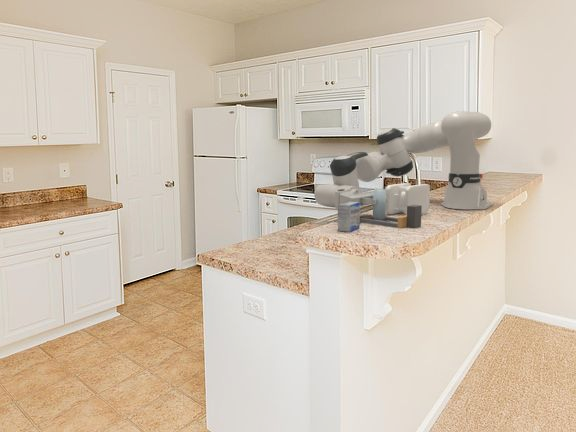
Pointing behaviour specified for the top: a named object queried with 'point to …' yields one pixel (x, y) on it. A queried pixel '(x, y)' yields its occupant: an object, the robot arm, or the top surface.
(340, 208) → the medicine box
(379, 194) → the marker sleeve
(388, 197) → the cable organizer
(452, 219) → the top surface
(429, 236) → the top surface
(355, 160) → the robot arm
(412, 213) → the comb channel
